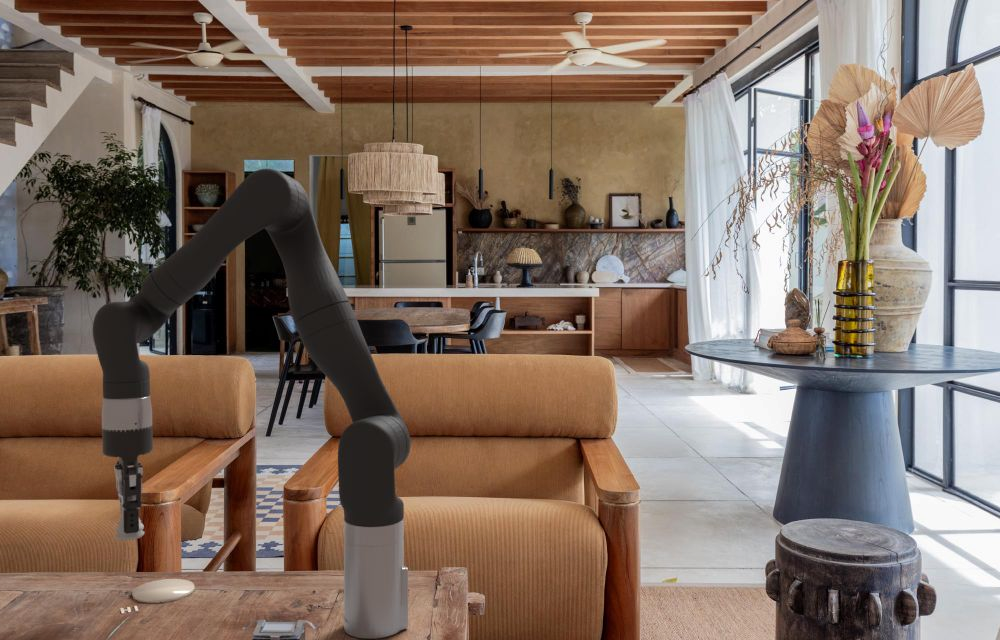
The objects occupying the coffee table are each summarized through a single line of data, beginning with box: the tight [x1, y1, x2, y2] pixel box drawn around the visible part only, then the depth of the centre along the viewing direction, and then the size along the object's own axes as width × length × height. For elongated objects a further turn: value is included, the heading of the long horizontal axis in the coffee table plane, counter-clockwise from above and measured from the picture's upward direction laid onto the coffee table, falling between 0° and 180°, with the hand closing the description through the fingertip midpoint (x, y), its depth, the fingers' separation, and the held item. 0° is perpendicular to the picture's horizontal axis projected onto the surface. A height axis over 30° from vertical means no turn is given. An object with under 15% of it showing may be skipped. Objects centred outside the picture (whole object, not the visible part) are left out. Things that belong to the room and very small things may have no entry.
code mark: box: [119, 605, 139, 615], centre depth 141 cm, size 2×2×1 cm
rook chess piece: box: [114, 489, 145, 541], centre depth 140 cm, size 4×4×8 cm
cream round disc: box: [132, 578, 195, 604], centre depth 149 cm, size 10×10×1 cm
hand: (129, 528), depth 140 cm, fingers closed on rook chess piece, 4 cm apart
